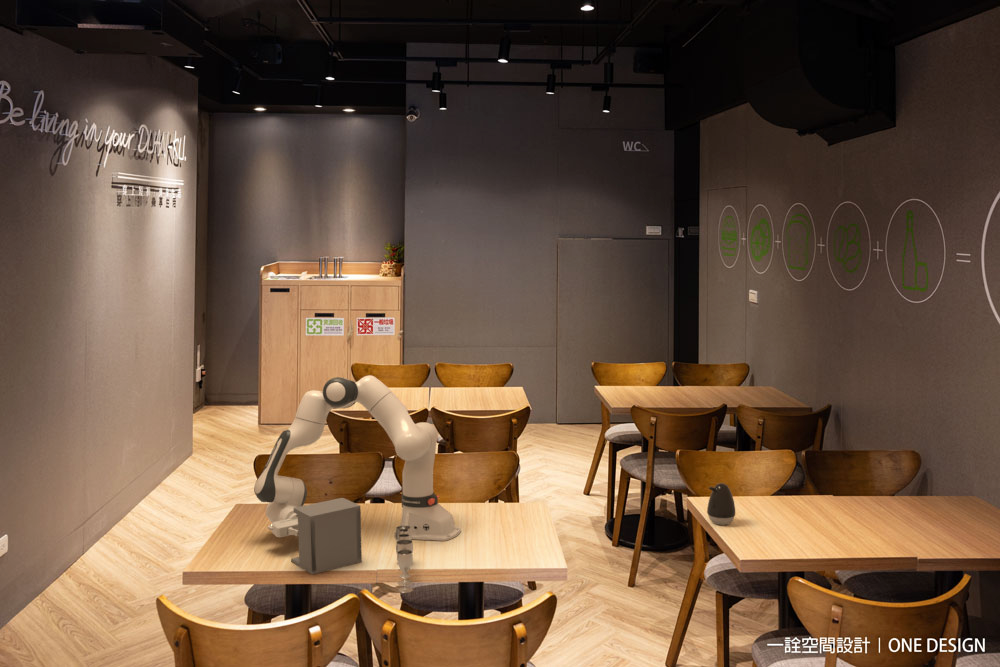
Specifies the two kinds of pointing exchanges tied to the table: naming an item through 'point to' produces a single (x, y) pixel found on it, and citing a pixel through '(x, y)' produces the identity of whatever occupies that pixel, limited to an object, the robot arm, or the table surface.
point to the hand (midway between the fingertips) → (311, 530)
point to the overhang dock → (328, 535)
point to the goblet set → (404, 555)
